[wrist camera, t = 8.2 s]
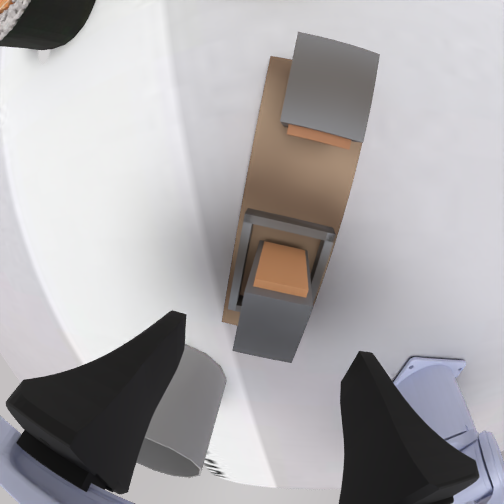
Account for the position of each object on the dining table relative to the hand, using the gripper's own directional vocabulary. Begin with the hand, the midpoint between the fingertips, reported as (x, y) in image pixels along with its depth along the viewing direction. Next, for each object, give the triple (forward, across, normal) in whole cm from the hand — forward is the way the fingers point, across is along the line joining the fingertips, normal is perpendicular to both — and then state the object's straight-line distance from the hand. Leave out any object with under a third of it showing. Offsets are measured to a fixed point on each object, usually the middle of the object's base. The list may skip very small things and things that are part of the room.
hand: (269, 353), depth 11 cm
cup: (+9, +6, +14) cm, 18 cm away
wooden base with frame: (+9, 0, -4) cm, 10 cm away
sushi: (+9, +22, -18) cm, 30 cm away
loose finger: (+8, 0, 0) cm, 8 cm away
